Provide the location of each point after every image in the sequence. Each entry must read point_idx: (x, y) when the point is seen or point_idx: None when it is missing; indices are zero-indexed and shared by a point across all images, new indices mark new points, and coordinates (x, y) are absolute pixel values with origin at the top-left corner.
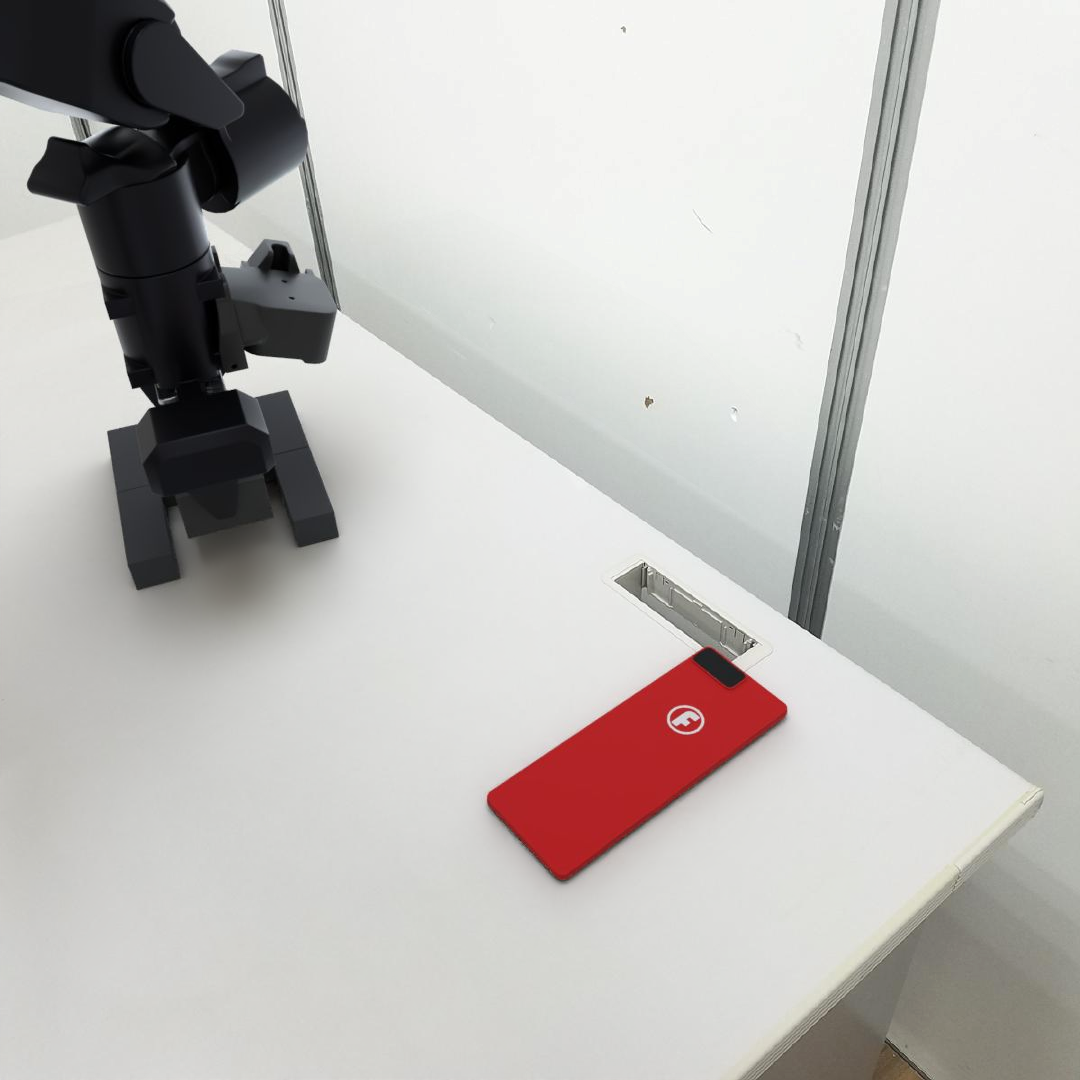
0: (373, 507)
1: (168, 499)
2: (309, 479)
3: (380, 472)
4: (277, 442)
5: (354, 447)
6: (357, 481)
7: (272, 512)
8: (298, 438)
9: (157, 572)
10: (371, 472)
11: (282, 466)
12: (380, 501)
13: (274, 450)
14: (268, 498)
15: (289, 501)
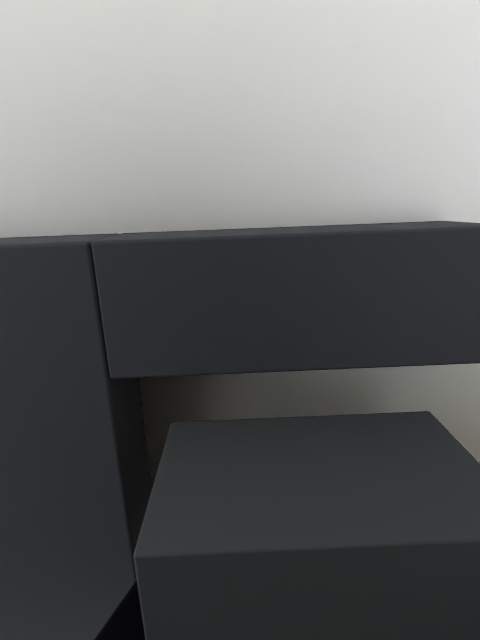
0: (362, 87)
1: None
2: (294, 276)
3: (192, 14)
4: (34, 347)
5: (24, 76)
6: (214, 109)
7: (437, 420)
8: (28, 273)
9: None
10: (182, 48)
11: (183, 351)
12: (343, 55)
13: (80, 363)
14: (470, 457)
15: (381, 357)
